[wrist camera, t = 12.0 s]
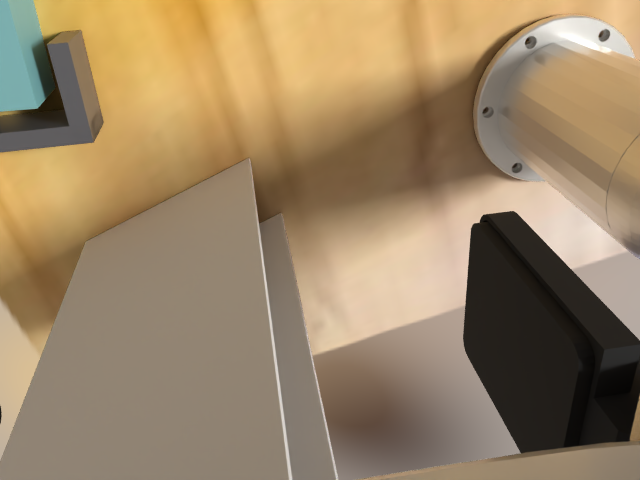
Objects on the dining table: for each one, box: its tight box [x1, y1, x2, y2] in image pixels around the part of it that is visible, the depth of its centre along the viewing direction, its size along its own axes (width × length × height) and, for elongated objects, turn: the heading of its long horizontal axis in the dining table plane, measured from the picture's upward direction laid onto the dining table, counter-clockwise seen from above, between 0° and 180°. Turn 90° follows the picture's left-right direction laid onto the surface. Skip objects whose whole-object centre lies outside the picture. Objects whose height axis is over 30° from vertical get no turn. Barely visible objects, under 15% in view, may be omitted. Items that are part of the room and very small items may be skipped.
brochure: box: [0, 158, 338, 480], centre depth 34 cm, size 14×6×30 cm, turn 116°
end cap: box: [0, 30, 104, 152], centre depth 38 cm, size 8×6×4 cm
